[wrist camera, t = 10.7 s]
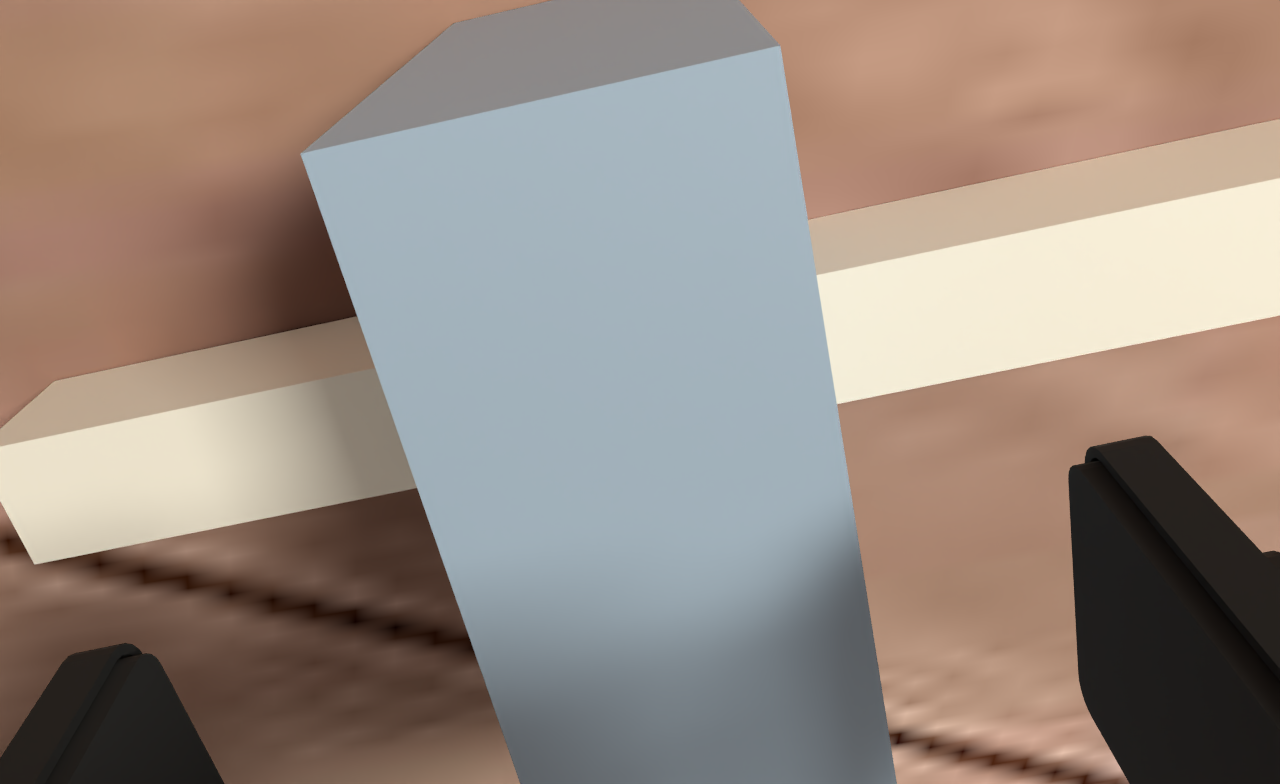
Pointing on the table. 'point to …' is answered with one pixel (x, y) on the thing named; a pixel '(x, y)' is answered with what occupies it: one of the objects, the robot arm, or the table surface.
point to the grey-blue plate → (617, 389)
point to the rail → (852, 312)
